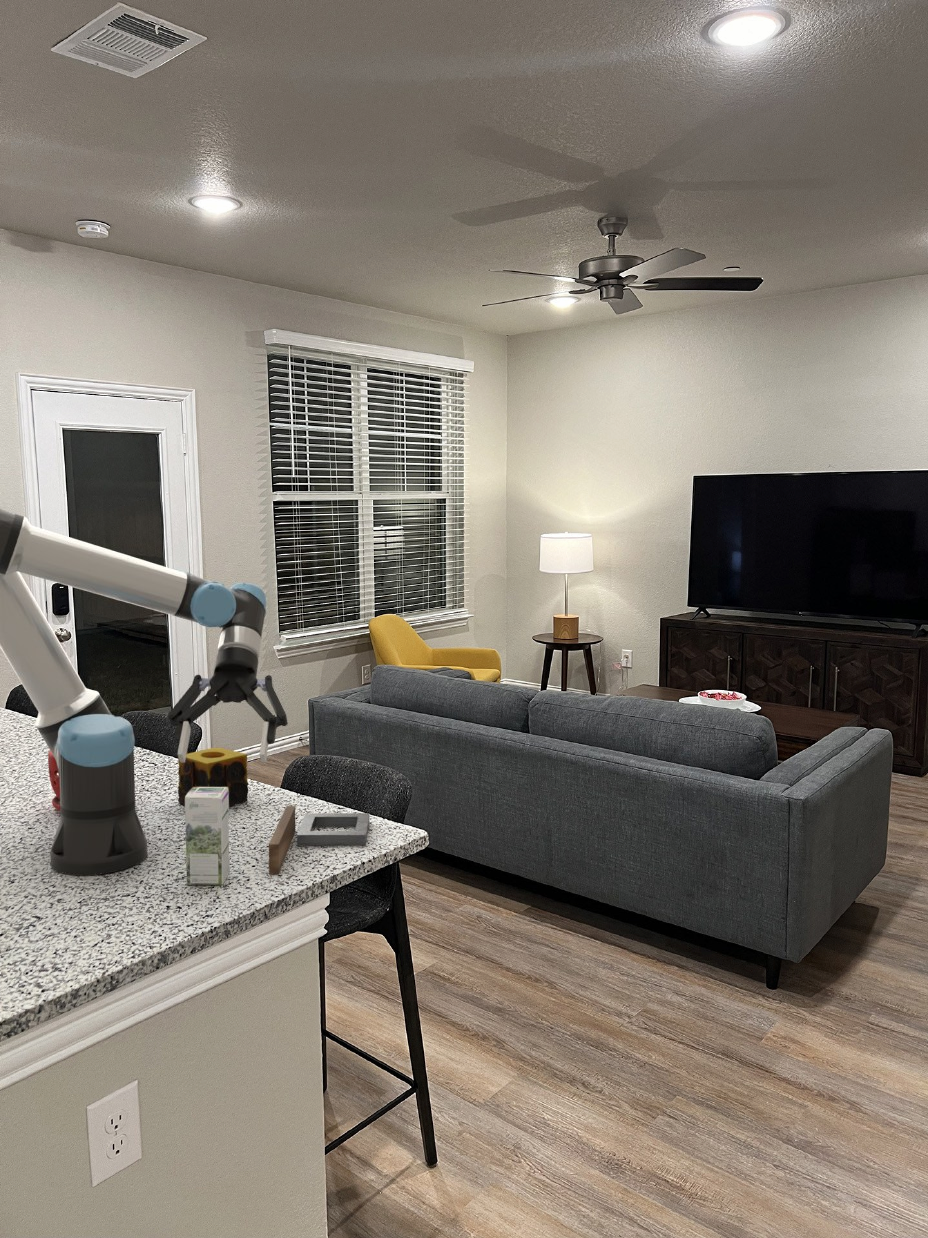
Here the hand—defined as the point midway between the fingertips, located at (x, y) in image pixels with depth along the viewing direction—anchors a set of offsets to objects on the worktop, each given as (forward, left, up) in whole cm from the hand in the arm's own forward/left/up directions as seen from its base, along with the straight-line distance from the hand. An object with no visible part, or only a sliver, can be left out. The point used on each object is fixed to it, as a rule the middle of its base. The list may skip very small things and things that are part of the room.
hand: (222, 758), depth 158 cm
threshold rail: (+10, +1, -17) cm, 19 cm away
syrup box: (0, -11, -17) cm, 20 cm away
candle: (-8, +29, -17) cm, 35 cm away
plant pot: (-32, +26, -17) cm, 45 cm away
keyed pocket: (+18, +10, -17) cm, 26 cm away
